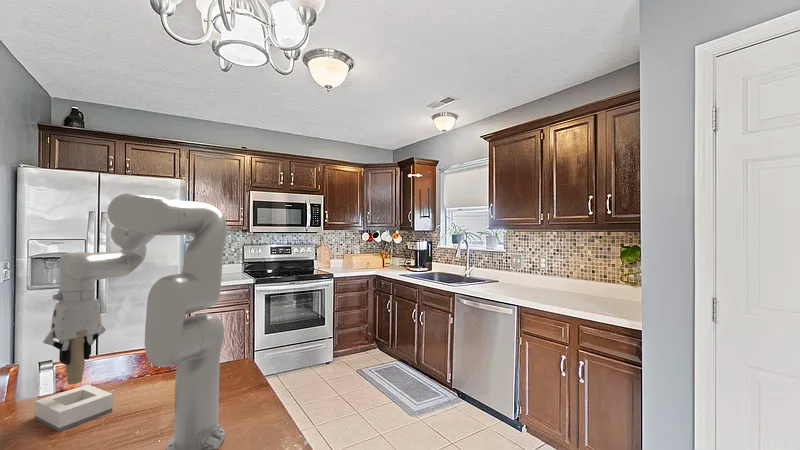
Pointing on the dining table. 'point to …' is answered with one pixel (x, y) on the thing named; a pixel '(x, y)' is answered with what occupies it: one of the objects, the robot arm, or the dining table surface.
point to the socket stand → (73, 407)
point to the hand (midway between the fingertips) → (75, 360)
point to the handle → (76, 359)
